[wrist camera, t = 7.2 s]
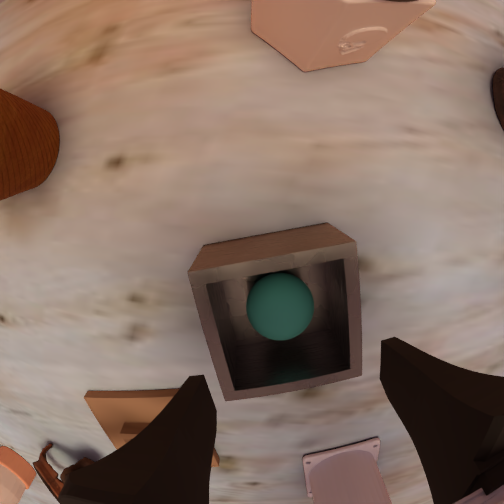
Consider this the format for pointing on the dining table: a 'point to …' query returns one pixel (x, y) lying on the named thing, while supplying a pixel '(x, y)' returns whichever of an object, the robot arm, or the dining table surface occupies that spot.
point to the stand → (129, 412)
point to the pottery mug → (51, 475)
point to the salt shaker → (13, 476)
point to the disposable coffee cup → (25, 145)
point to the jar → (332, 28)
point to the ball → (280, 306)
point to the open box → (280, 351)
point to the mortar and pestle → (499, 94)
